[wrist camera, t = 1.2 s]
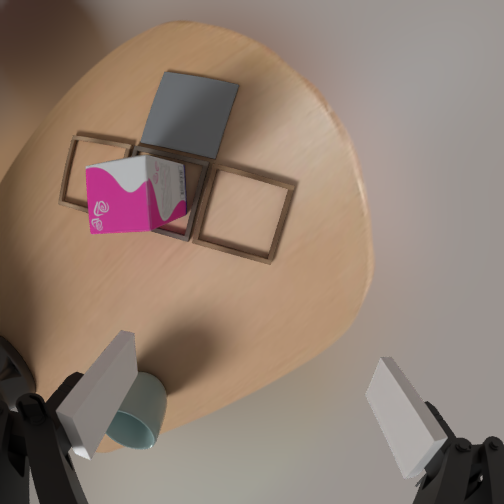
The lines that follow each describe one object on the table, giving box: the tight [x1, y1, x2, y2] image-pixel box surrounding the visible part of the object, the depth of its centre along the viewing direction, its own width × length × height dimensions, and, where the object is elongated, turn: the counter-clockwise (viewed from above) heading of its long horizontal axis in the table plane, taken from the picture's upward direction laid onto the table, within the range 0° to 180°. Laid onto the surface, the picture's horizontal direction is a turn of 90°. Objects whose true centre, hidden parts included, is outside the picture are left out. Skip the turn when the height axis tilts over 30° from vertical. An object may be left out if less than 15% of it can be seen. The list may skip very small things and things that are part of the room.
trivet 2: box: [192, 163, 295, 265], centre depth 31 cm, size 9×9×1 cm
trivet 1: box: [58, 135, 133, 213], centre depth 29 cm, size 9×9×1 cm
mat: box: [140, 72, 239, 159], centre depth 28 cm, size 9×9×1 cm
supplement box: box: [86, 155, 187, 234], centre depth 25 cm, size 6×6×12 cm
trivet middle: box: [132, 146, 210, 242], centre depth 30 cm, size 9×9×1 cm
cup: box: [106, 372, 167, 449], centre depth 31 cm, size 8×8×10 cm
